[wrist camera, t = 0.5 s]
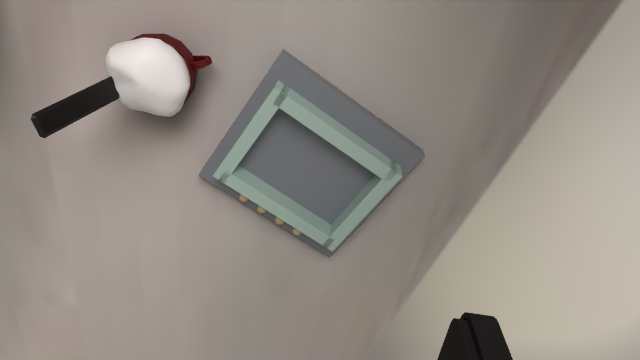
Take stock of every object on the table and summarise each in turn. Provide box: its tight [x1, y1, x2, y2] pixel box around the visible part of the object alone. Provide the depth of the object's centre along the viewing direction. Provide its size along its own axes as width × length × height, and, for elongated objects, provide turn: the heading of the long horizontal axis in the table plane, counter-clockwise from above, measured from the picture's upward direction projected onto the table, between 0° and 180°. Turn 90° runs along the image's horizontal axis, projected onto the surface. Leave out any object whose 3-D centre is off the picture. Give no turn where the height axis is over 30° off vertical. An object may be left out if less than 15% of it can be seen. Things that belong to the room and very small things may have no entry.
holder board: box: [199, 49, 424, 257], centre depth 44 cm, size 14×15×3 cm
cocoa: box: [31, 34, 212, 138], centre depth 36 cm, size 10×6×12 cm, turn 80°
